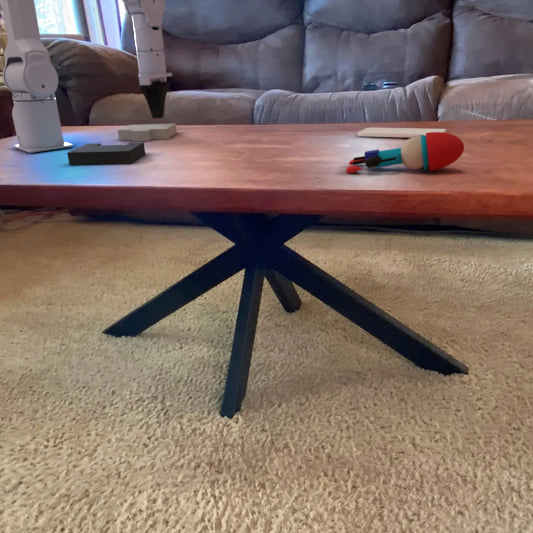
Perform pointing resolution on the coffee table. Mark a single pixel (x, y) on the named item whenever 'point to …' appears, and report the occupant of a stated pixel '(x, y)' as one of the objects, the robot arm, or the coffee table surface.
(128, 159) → the black pad
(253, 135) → the coffee table surface
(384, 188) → the coffee table surface
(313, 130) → the coffee table surface
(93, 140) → the coffee table surface
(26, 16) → the robot arm
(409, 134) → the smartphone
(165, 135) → the grey pad
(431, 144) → the toy figure
